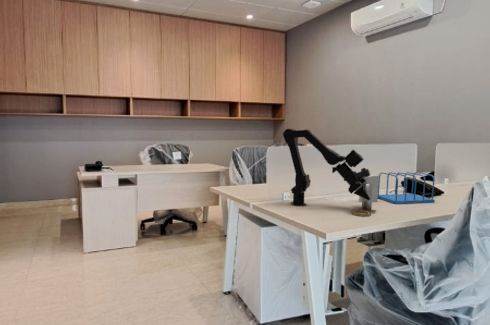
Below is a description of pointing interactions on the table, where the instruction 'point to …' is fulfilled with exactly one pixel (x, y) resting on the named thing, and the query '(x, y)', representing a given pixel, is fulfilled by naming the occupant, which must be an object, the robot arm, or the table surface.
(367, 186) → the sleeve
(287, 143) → the robot arm
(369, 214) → the hub seat
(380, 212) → the table surface
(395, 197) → the file sorter
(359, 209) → the stand pad
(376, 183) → the skincare box
